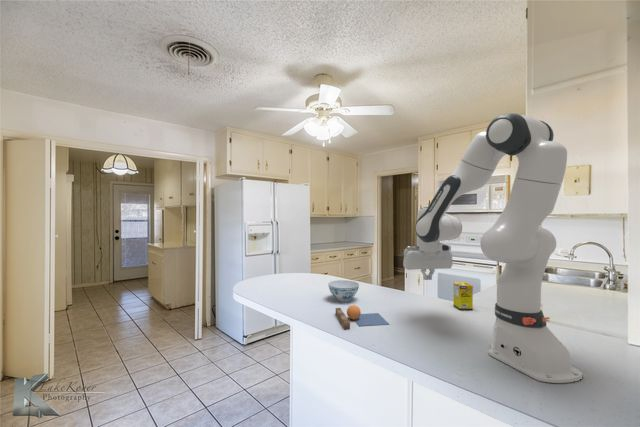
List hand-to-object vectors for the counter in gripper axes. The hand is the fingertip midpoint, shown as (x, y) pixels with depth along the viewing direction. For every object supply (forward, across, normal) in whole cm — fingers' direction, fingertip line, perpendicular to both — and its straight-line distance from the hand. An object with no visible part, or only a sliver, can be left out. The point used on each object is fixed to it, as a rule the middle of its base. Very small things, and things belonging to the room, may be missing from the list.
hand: (427, 279), depth 119 cm
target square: (+15, -25, 0) cm, 29 cm away
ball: (+12, -31, +1) cm, 33 cm away
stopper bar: (+15, -36, 0) cm, 39 cm away
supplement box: (+15, +21, +7) cm, 27 cm away
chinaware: (+15, -29, +27) cm, 42 cm away
